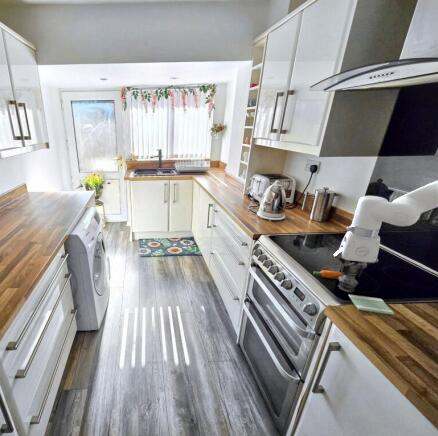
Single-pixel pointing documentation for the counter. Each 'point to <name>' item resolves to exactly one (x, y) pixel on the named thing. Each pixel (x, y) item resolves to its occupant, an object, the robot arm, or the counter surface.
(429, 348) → the counter surface
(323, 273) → the carrot
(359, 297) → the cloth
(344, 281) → the grey chess piece
